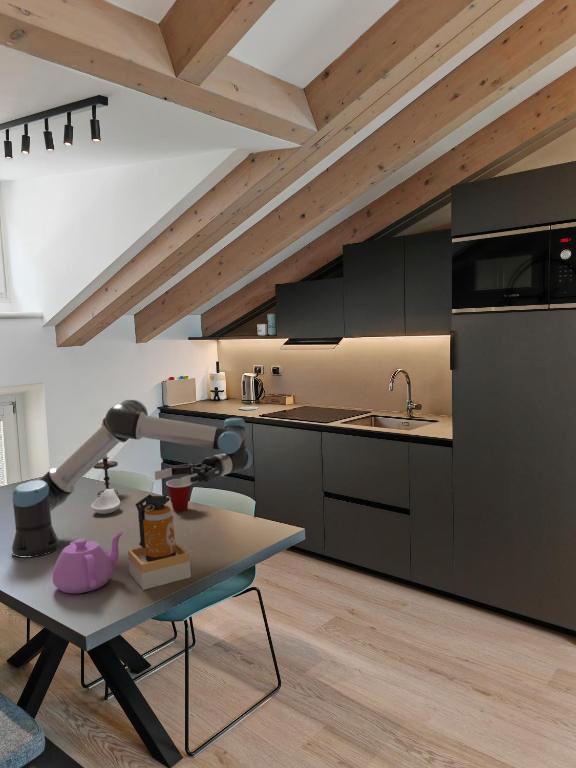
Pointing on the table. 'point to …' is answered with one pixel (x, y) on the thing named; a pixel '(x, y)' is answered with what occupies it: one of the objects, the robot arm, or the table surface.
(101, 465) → the candlestick
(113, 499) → the spoon rest
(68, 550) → the teapot
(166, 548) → the canister
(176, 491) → the plastic cup
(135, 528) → the table surface
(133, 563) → the orange-rimmed open box
